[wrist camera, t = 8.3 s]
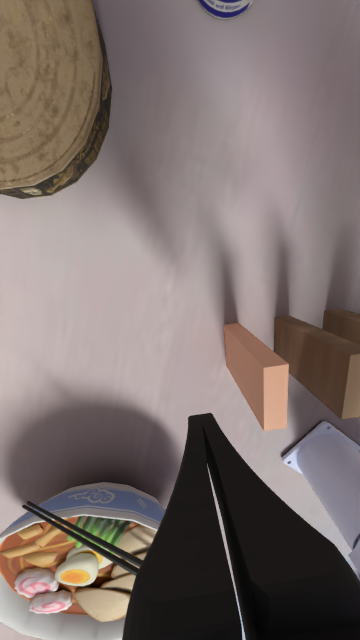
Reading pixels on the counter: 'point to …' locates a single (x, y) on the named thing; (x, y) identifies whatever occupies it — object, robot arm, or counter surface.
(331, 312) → the domino
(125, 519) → the ramen bowl
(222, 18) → the energy drink
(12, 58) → the wooden tree slice
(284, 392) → the orange tan rectangular block
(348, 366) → the domino
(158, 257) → the counter surface
